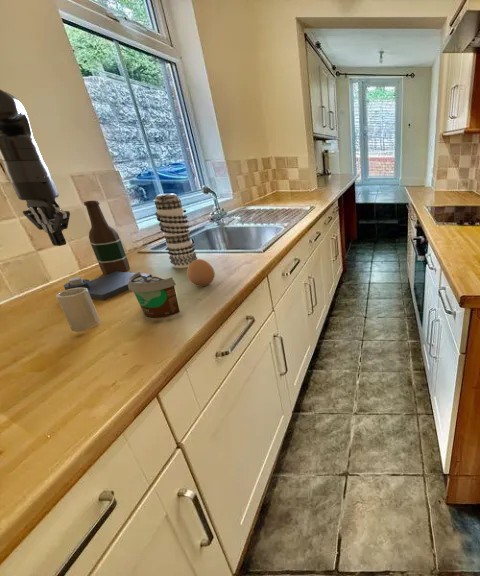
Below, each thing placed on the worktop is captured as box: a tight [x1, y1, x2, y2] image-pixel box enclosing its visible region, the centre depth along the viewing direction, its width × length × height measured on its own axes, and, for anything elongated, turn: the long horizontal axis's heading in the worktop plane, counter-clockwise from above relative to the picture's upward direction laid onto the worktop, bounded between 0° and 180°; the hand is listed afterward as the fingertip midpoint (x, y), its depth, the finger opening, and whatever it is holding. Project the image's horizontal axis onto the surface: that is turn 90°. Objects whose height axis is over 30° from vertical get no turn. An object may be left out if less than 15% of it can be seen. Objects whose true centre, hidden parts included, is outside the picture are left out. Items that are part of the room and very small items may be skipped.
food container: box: [128, 272, 181, 319], centre depth 80 cm, size 12×6×10 cm, turn 71°
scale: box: [63, 271, 153, 301], centre depth 97 cm, size 14×16×4 cm
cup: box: [55, 287, 102, 332], centre depth 75 cm, size 5×5×9 cm
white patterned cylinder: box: [152, 193, 198, 269], centre depth 112 cm, size 9×9×25 cm
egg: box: [186, 258, 216, 287], centre depth 98 cm, size 7×7×8 cm
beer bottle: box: [83, 200, 131, 275], centre depth 106 cm, size 8×8×24 cm
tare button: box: [68, 276, 84, 285], centre depth 92 cm, size 3×3×2 cm
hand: (60, 245), depth 88 cm, fingers closed
